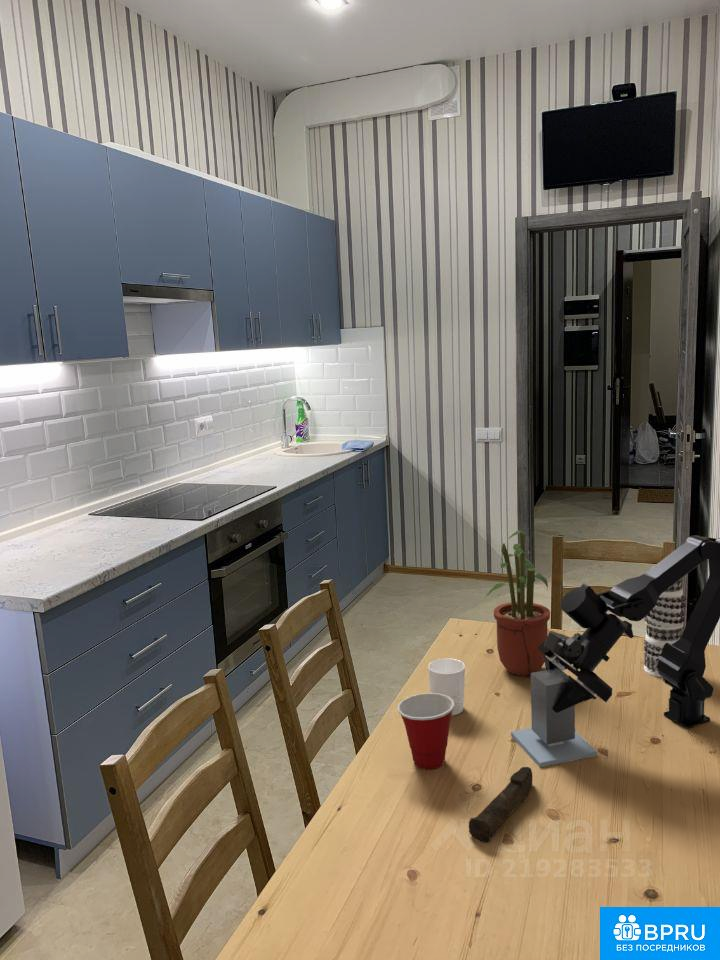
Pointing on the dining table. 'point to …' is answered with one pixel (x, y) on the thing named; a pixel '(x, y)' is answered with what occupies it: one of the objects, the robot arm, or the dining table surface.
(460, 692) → the white cup
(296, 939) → the dining table surface
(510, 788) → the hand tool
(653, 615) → the decorative candle
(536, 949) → the dining table surface
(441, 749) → the plastic cup
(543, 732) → the grey block
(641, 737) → the dining table surface
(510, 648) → the potted plant
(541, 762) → the base block
